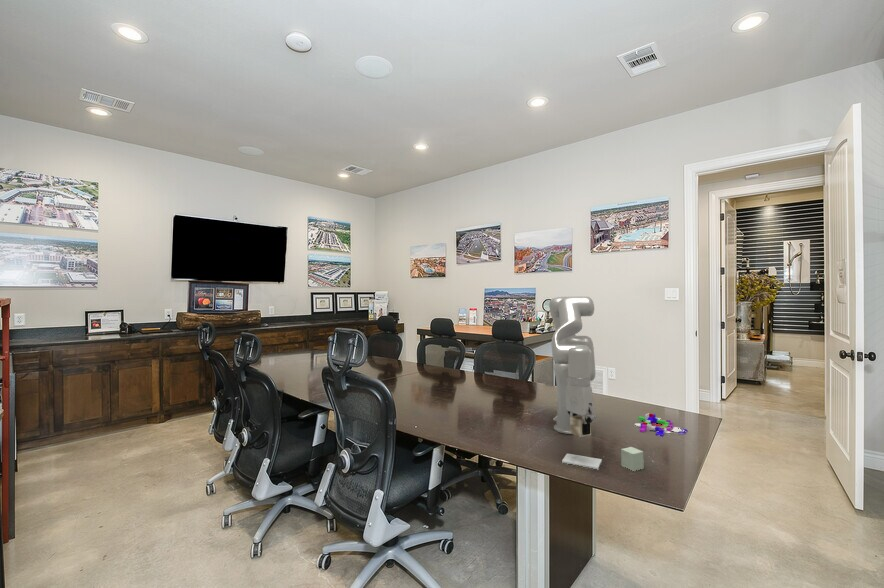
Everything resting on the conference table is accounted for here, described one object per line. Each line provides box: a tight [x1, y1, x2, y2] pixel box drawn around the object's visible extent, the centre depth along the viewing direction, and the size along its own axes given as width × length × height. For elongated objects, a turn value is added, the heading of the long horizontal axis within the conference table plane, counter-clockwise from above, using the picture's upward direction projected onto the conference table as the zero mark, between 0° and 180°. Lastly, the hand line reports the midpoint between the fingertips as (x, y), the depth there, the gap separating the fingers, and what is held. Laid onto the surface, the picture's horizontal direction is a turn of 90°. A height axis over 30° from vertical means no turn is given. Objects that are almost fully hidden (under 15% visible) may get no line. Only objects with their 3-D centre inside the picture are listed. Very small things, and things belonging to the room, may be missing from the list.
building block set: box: [634, 412, 688, 437], centre depth 180 cm, size 25×20×4 cm
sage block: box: [620, 446, 645, 472], centre depth 139 cm, size 5×5×6 cm
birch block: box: [570, 415, 592, 438], centre depth 144 cm, size 5×5×6 cm
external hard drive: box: [561, 453, 603, 471], centre depth 144 cm, size 2×8×12 cm
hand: (580, 431), depth 143 cm, fingers closed on birch block, 4 cm apart
